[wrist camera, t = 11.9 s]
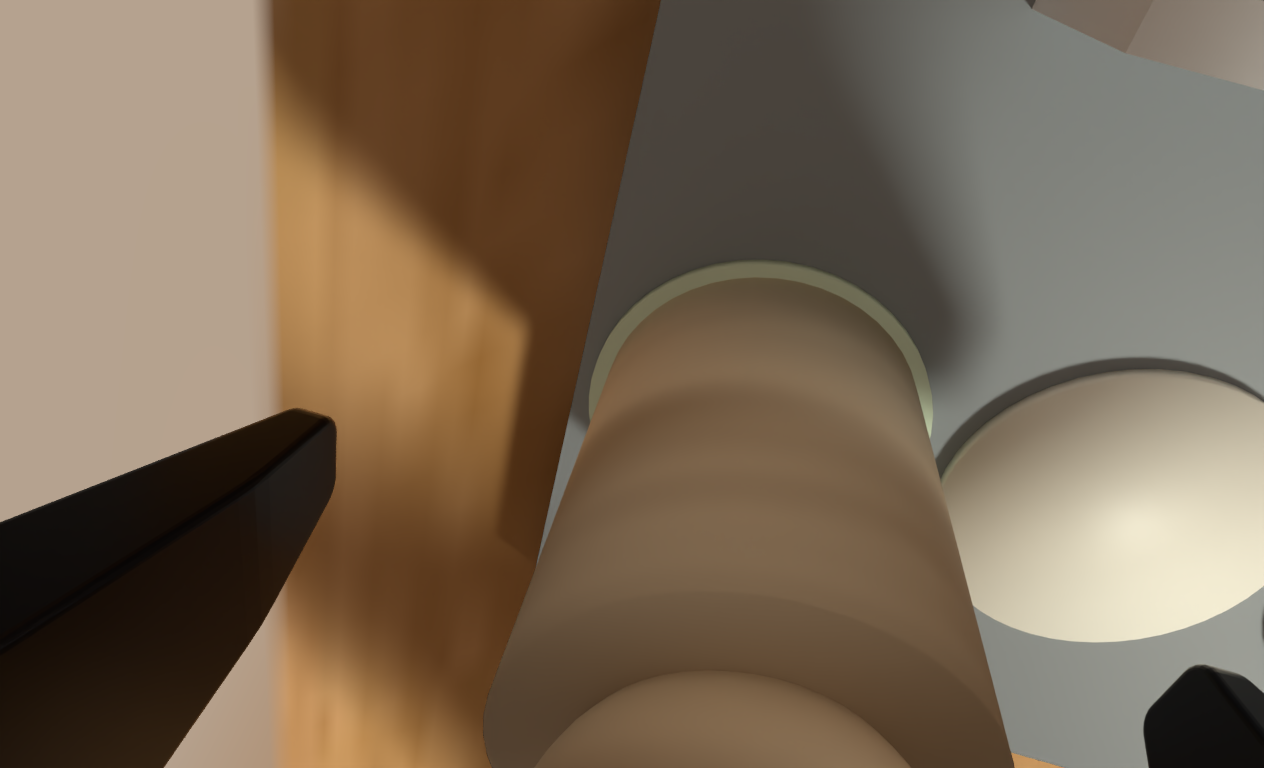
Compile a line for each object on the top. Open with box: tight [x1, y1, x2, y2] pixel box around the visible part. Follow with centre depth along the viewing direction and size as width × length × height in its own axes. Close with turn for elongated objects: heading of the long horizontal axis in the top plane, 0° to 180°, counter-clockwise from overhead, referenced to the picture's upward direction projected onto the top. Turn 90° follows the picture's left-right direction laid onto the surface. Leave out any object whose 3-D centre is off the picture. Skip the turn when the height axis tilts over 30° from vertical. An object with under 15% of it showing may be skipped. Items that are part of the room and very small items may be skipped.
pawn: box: [483, 277, 1014, 768], centre depth 7 cm, size 4×4×8 cm
